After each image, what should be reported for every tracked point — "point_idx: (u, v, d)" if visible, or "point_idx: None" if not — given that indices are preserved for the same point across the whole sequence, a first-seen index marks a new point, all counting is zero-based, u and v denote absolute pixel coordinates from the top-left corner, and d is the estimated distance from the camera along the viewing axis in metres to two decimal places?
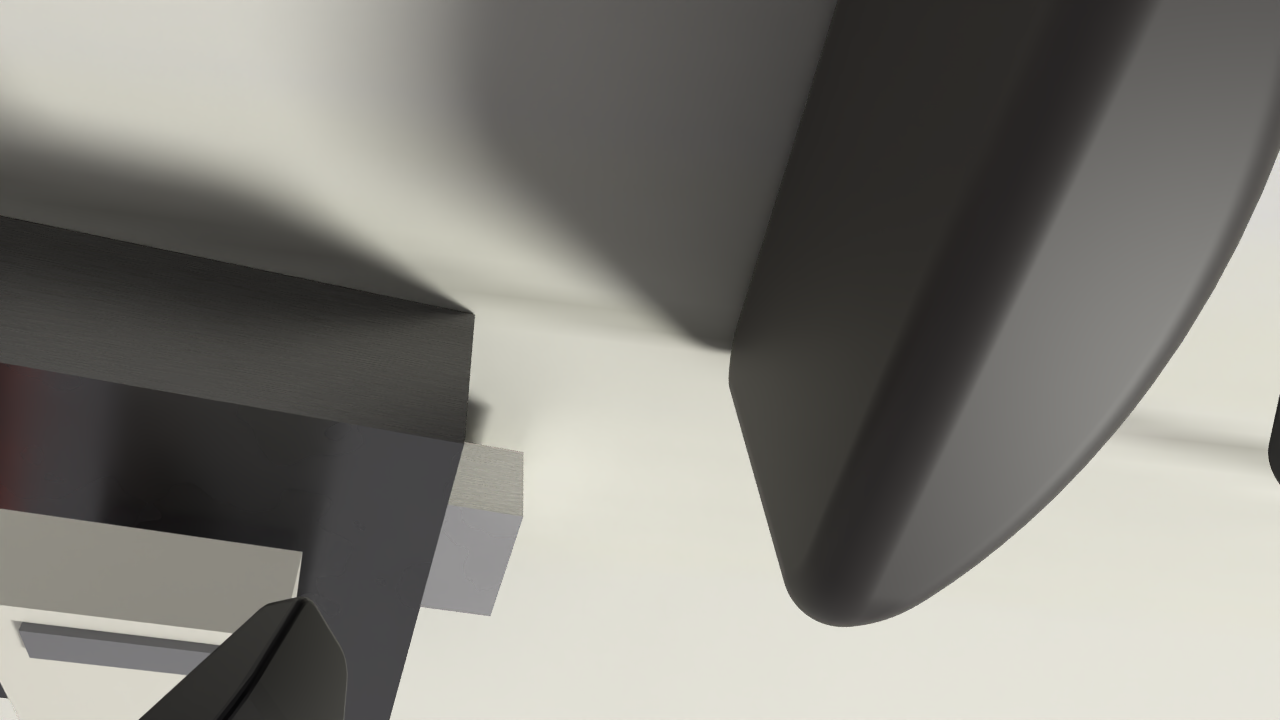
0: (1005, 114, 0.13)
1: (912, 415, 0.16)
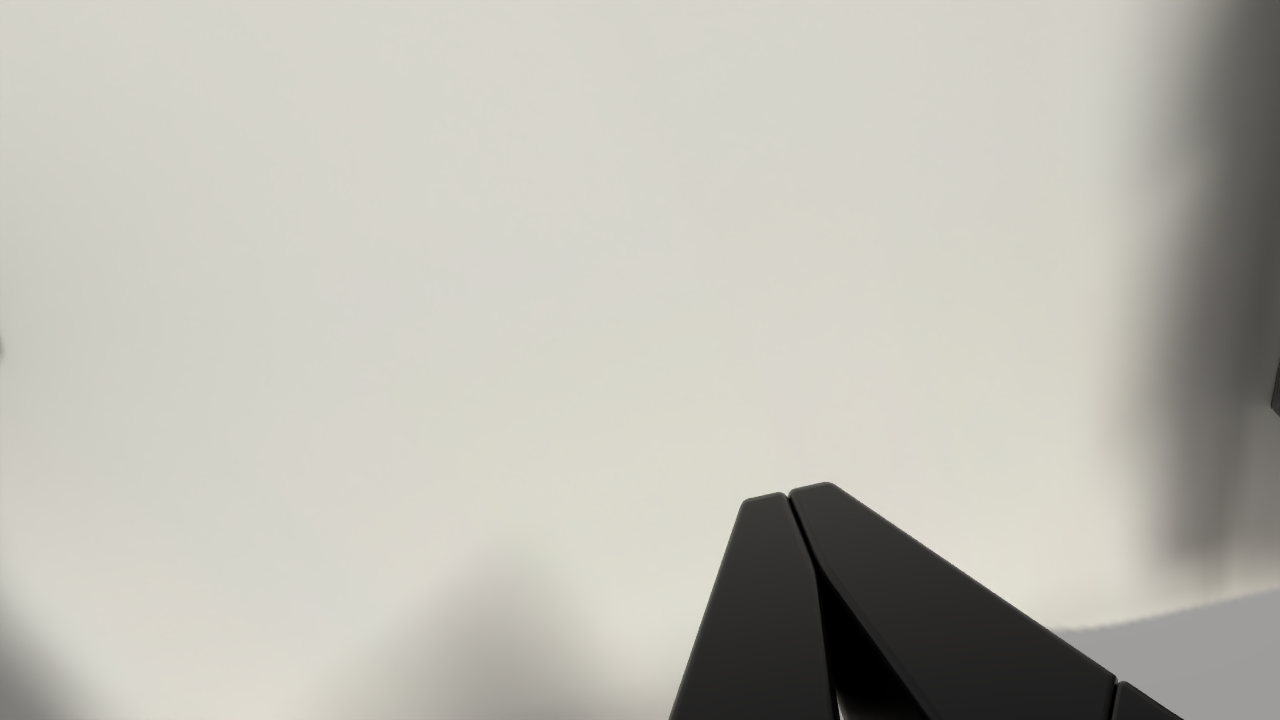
0: None
1: None
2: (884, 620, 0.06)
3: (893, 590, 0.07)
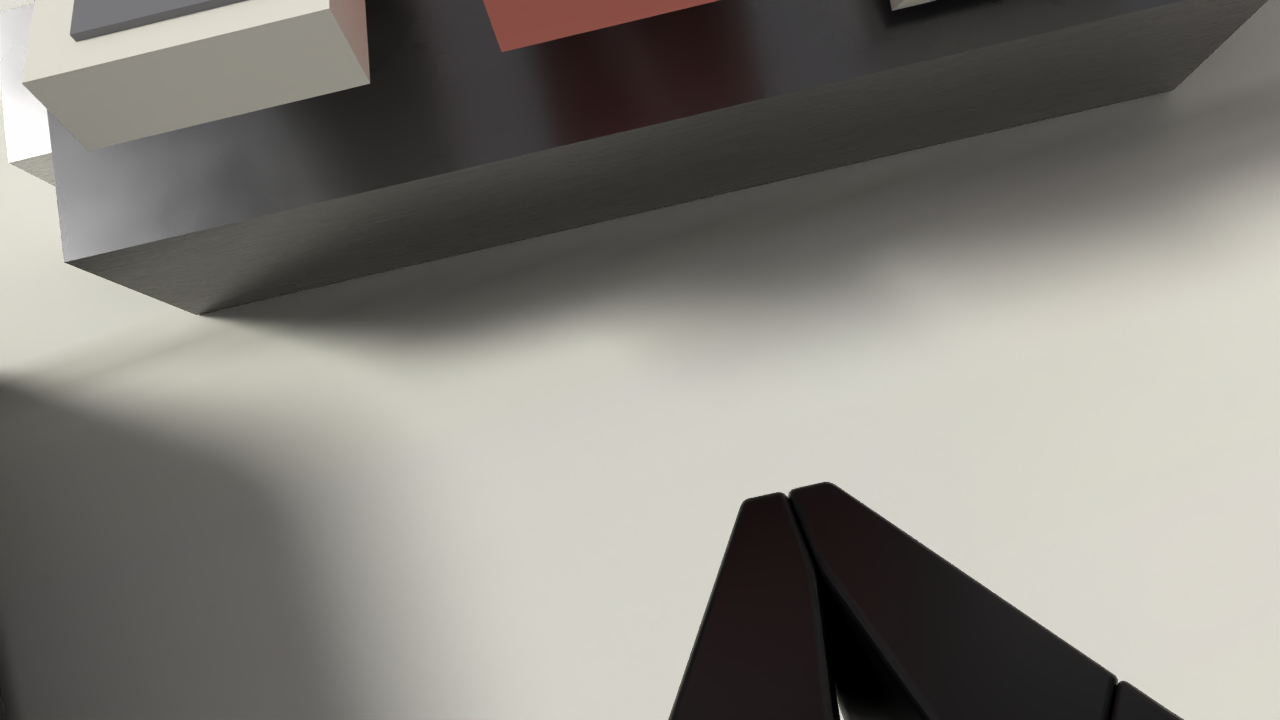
0: None
1: None
2: (884, 620, 0.06)
3: (893, 590, 0.07)
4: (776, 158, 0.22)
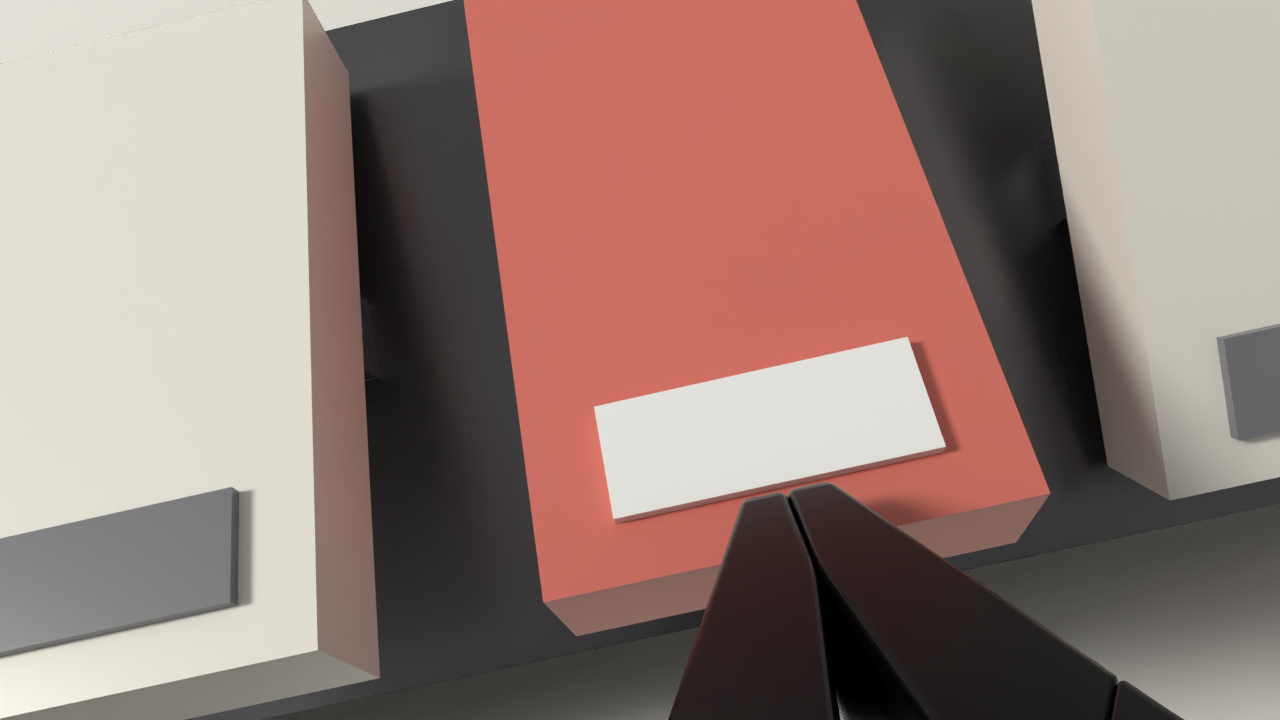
0: None
1: None
2: (884, 620, 0.06)
3: (893, 590, 0.07)
4: None
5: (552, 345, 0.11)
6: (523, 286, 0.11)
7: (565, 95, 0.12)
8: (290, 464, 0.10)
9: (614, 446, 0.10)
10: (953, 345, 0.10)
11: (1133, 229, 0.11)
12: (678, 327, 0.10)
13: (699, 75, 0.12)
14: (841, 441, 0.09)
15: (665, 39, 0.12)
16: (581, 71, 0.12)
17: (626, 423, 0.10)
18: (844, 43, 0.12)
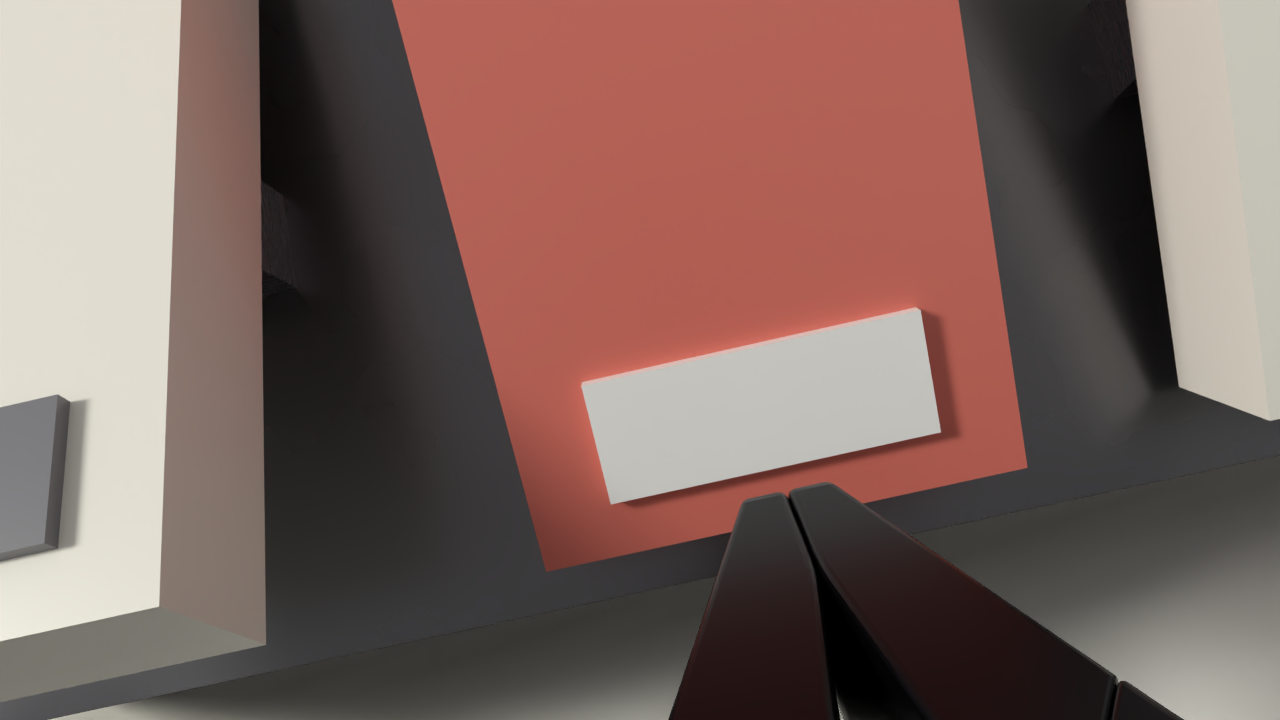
0: None
1: None
2: (884, 619, 0.06)
3: (893, 589, 0.07)
4: None
5: (523, 301, 0.09)
6: (478, 220, 0.09)
7: None
8: (138, 367, 0.08)
9: (606, 431, 0.09)
10: (964, 310, 0.09)
11: (1234, 71, 0.09)
12: (668, 281, 0.09)
13: None
14: (839, 426, 0.09)
15: None
16: None
17: (617, 405, 0.09)
18: None
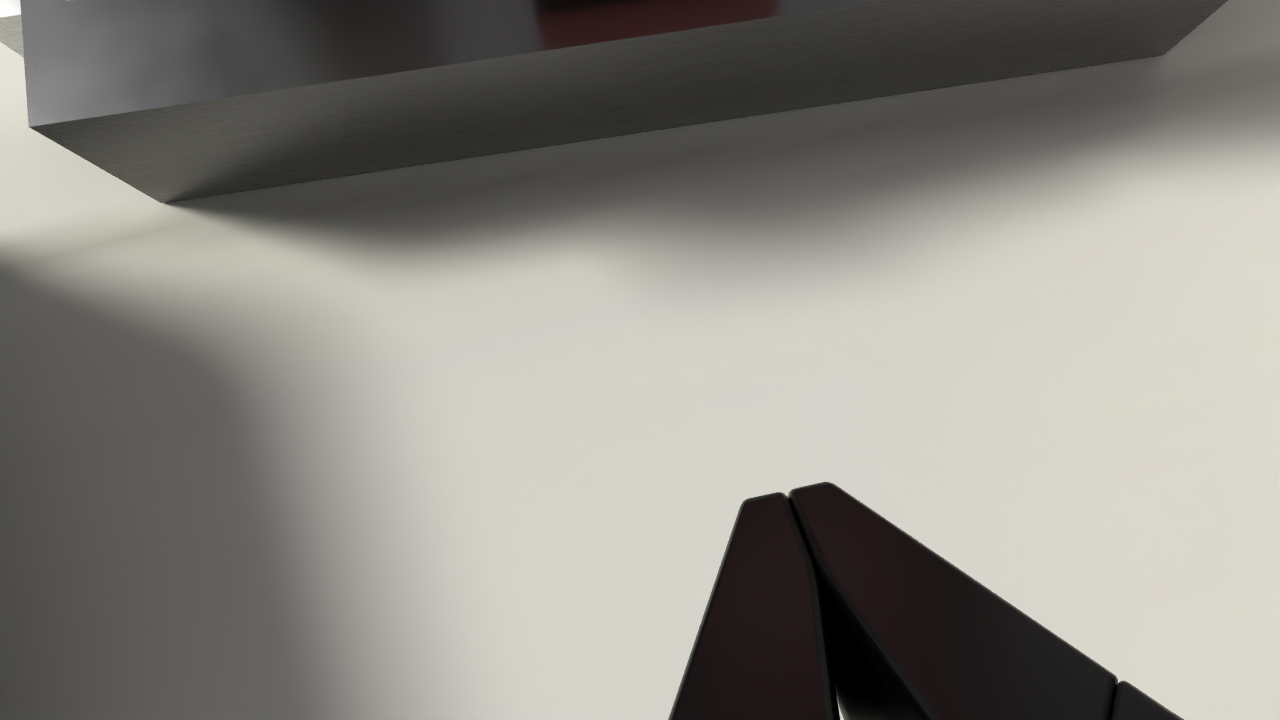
0: None
1: None
2: (884, 620, 0.06)
3: (893, 590, 0.07)
4: (770, 87, 0.22)
5: None
6: None
7: None
8: None
9: None
10: None
11: None
12: None
13: None
14: None
15: None
16: None
17: None
18: None
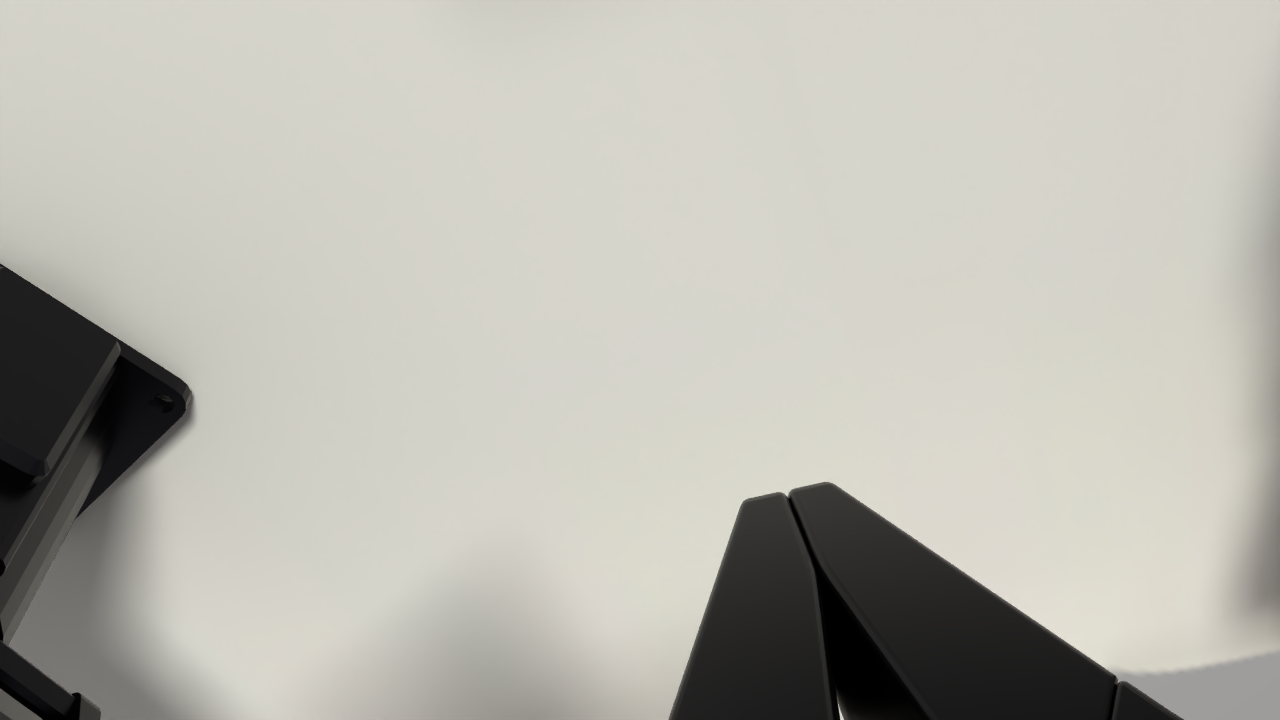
0: None
1: None
2: (884, 620, 0.06)
3: (893, 590, 0.07)
4: None
5: None
6: None
7: None
8: None
9: None
10: None
11: None
12: None
13: None
14: None
15: None
16: None
17: None
18: None
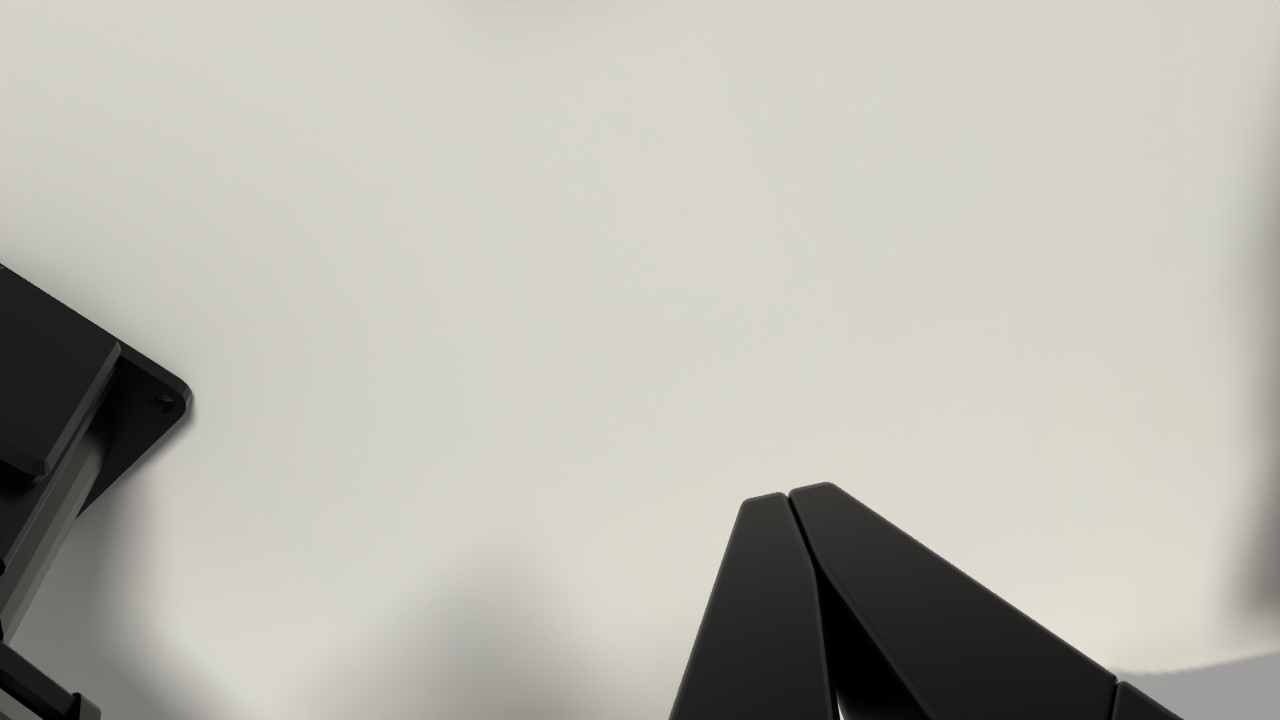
0: None
1: None
2: (884, 620, 0.06)
3: (893, 590, 0.07)
4: None
5: None
6: None
7: None
8: None
9: None
10: None
11: None
12: None
13: None
14: None
15: None
16: None
17: None
18: None
